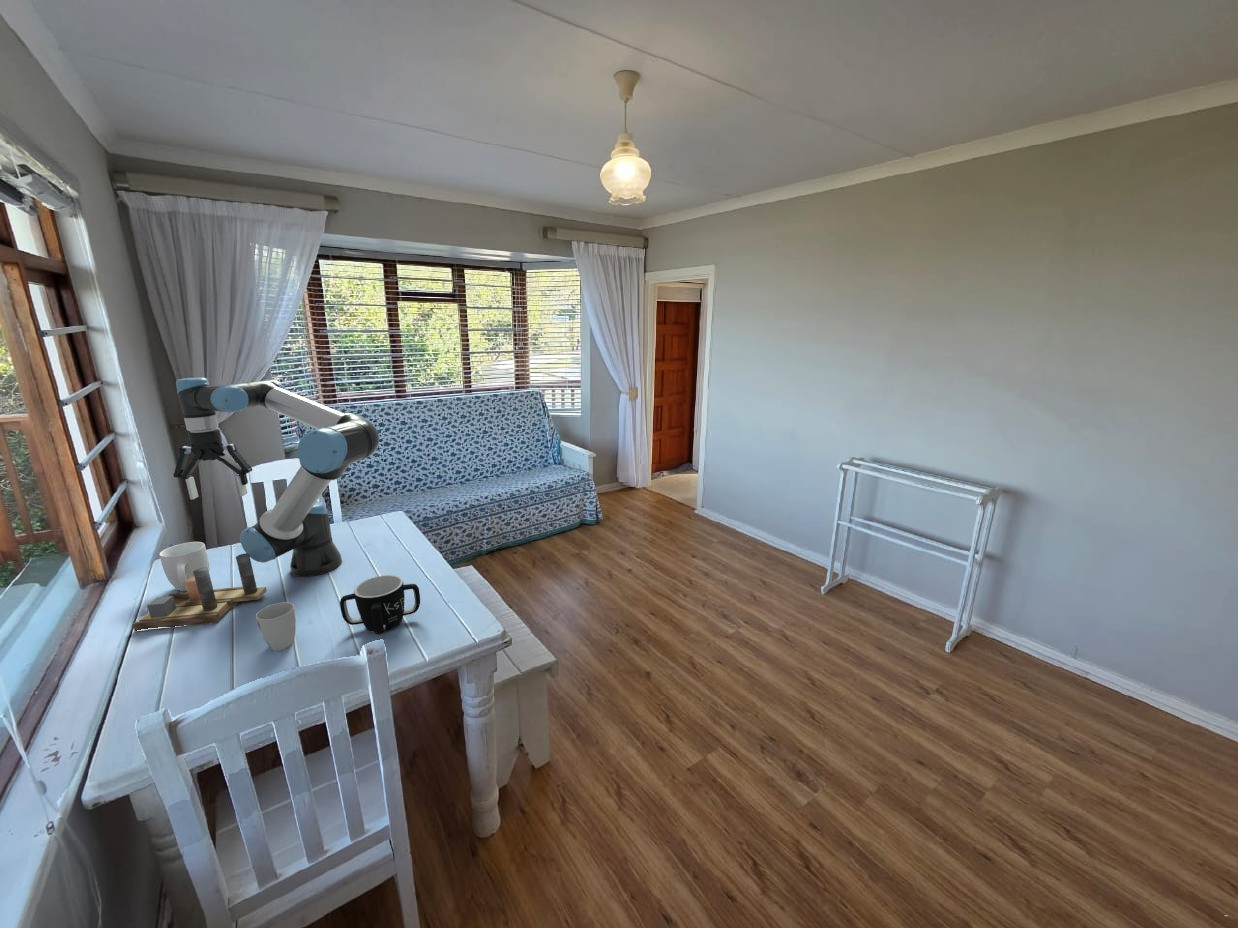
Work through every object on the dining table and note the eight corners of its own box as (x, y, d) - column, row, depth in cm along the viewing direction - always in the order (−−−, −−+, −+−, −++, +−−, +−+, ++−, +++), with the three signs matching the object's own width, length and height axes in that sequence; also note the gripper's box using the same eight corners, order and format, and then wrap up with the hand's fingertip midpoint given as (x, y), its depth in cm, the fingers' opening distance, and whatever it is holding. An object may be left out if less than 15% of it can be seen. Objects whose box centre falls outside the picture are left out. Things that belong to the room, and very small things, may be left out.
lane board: (246, 593, 154) (244, 586, 154) (218, 622, 139) (216, 614, 139) (172, 601, 150) (170, 593, 150) (134, 631, 135) (132, 623, 135)
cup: (275, 635, 133) (267, 602, 130) (306, 634, 134) (300, 601, 131) (256, 655, 125) (248, 620, 123) (290, 653, 126) (282, 618, 123)
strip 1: (228, 606, 145) (217, 564, 142) (218, 615, 141) (207, 573, 137) (152, 614, 142) (139, 572, 138) (140, 624, 137) (126, 580, 133)
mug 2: (374, 649, 127) (367, 607, 124) (339, 629, 136) (332, 590, 132) (428, 618, 141) (423, 580, 137) (393, 602, 149) (388, 566, 146)
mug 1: (211, 593, 154) (201, 555, 151) (164, 604, 149) (152, 565, 145) (215, 574, 166) (206, 538, 163) (172, 583, 161) (162, 546, 157)
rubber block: (176, 608, 142) (173, 595, 141) (167, 616, 138) (163, 603, 137) (160, 610, 141) (156, 597, 140) (150, 617, 137) (146, 605, 136)
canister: (213, 592, 150) (209, 574, 149) (204, 600, 146) (199, 582, 144) (195, 594, 150) (190, 576, 148) (185, 602, 145) (180, 583, 143)
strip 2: (266, 590, 154) (257, 551, 150) (259, 599, 149) (249, 558, 145) (196, 597, 150) (185, 557, 146) (186, 606, 145) (174, 565, 142)
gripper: (255, 425, 156) (269, 489, 162) (163, 429, 151) (181, 495, 157) (243, 430, 149) (258, 497, 154) (146, 434, 144) (165, 503, 150)
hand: (219, 496), depth 156 cm, fingers open, 13 cm apart
